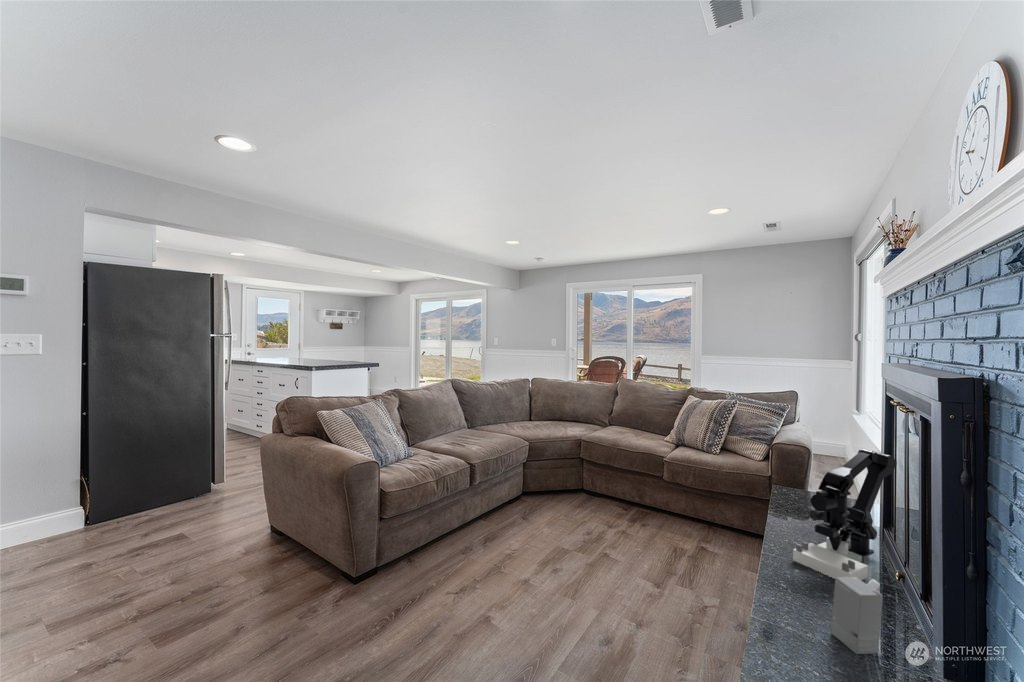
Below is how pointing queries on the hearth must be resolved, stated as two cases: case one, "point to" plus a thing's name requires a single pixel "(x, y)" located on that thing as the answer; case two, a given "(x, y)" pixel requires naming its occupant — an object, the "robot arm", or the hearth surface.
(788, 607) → the hearth surface
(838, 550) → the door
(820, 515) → the robot arm
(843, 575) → the white box base
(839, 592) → the skincare box
